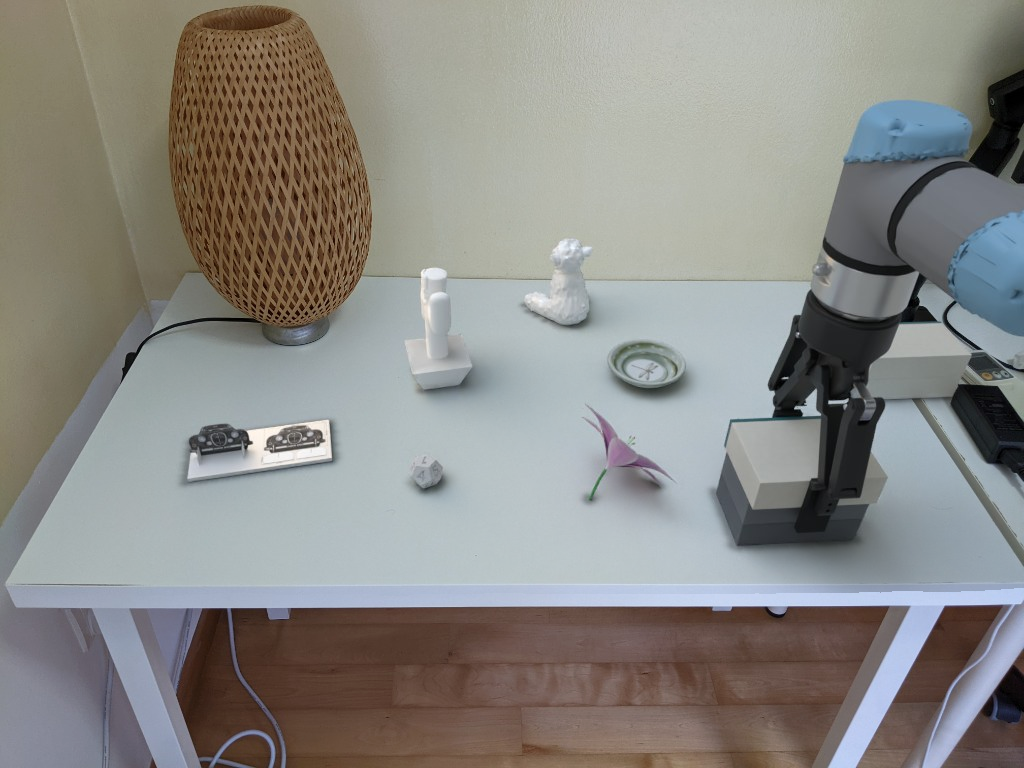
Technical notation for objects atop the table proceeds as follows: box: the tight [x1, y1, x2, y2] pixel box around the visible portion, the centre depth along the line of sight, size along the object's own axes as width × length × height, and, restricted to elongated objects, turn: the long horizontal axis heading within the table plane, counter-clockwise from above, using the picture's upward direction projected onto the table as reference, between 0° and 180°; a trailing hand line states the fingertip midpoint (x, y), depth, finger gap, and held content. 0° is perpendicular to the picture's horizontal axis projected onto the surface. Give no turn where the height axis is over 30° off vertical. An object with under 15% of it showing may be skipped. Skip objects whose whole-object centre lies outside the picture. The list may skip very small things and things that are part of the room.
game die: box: [407, 453, 444, 489], centre depth 82 cm, size 4×4×3 cm
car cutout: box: [186, 418, 333, 483], centre depth 84 cm, size 15×7×4 cm, turn 103°
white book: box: [723, 415, 889, 510], centre depth 75 cm, size 12×9×4 cm
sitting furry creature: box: [524, 237, 594, 326], centre depth 105 cm, size 10×9×12 cm
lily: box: [581, 402, 678, 501], centre depth 80 cm, size 12×12×10 cm
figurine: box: [403, 267, 474, 391], centre depth 92 cm, size 7×9×15 cm
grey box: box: [715, 451, 870, 546], centre depth 77 cm, size 12×7×6 cm, turn 94°
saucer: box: [606, 338, 687, 389], centre depth 97 cm, size 10×10×2 cm
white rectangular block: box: [866, 320, 973, 400], centre depth 96 cm, size 12×7×6 cm, turn 94°
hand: (790, 492), depth 77 cm, fingers closed on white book, 9 cm apart
